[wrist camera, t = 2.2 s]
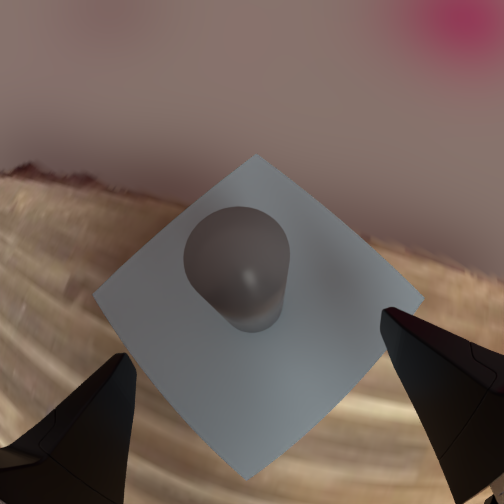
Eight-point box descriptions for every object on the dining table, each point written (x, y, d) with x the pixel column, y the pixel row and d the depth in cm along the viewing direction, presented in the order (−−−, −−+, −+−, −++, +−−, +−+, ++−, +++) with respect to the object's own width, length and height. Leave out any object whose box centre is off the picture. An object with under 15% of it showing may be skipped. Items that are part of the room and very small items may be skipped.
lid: (410, 305, 16) (500, 253, 8) (249, 468, 13) (226, 552, 5) (258, 171, 21) (247, 67, 12) (107, 301, 18) (14, 252, 9)
